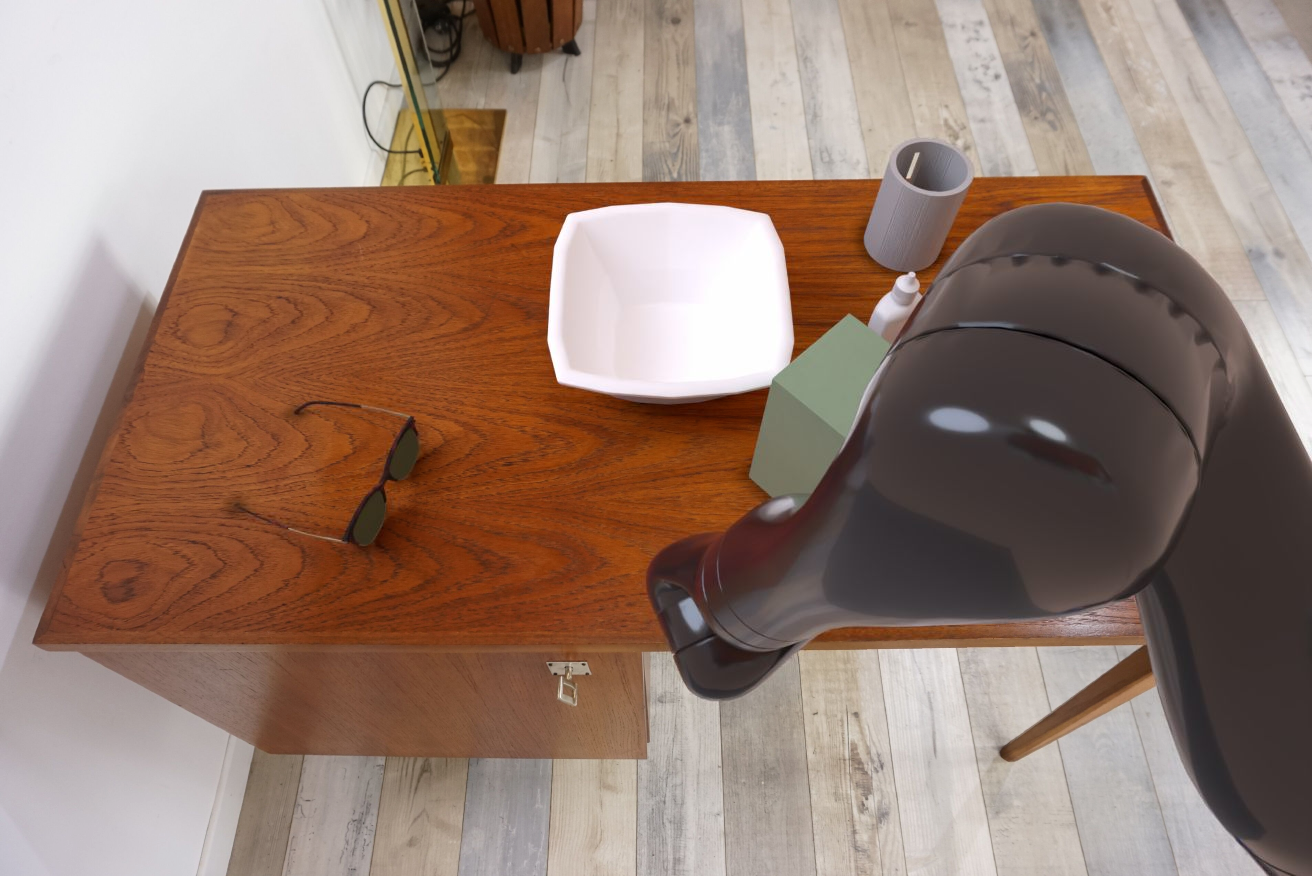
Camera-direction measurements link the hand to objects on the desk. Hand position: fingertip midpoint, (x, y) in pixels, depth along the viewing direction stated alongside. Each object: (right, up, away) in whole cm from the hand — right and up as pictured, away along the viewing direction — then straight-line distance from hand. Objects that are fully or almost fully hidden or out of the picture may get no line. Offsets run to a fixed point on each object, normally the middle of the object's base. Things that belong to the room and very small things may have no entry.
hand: (1117, 439), depth 59 cm
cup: (-4, +24, +40) cm, 47 cm away
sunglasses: (-67, -4, +23) cm, 71 cm away
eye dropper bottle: (-8, +10, +32) cm, 35 cm away
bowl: (-32, +10, +32) cm, 46 cm away
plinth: (-17, -4, +24) cm, 29 cm away
